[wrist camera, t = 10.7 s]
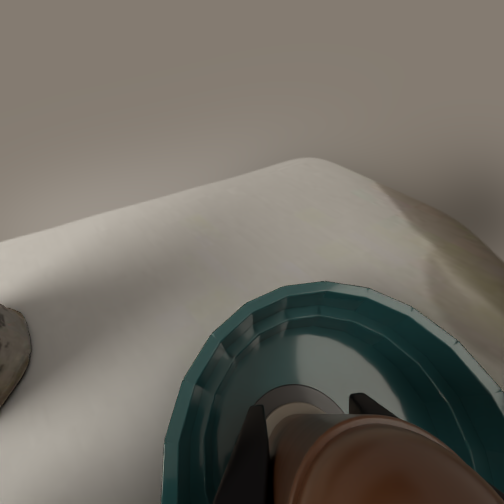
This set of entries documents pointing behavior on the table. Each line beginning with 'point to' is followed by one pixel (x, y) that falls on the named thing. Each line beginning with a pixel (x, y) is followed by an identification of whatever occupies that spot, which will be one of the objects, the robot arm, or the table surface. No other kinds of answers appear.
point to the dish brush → (359, 456)
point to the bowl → (329, 379)
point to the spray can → (12, 350)
